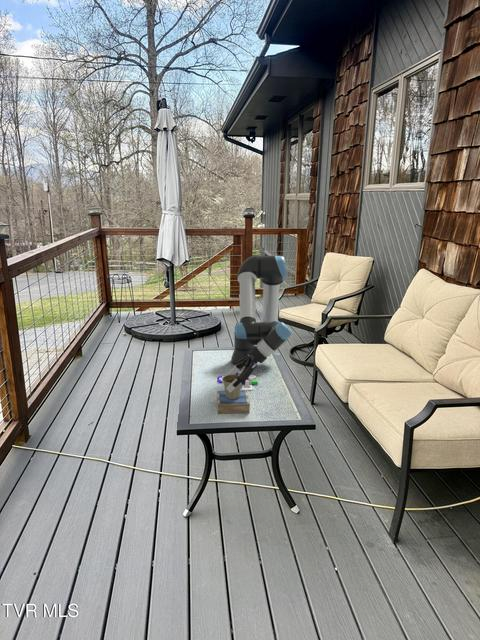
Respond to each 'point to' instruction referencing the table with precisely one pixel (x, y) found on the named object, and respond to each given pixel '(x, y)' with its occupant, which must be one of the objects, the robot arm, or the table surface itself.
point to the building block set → (246, 384)
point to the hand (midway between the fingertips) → (227, 383)
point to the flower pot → (227, 381)
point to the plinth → (233, 403)
